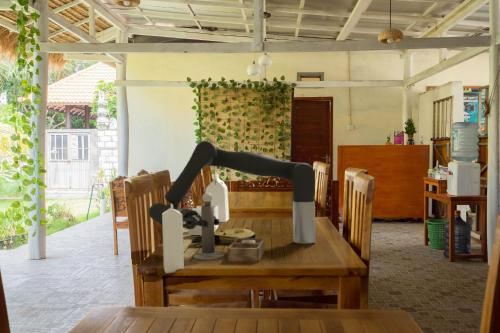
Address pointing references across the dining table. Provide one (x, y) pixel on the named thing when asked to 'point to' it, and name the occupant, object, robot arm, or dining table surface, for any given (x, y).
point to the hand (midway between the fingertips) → (212, 223)
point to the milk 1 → (172, 240)
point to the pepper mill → (208, 232)
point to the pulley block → (228, 236)
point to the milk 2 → (219, 197)
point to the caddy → (246, 249)
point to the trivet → (209, 255)
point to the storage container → (199, 229)
